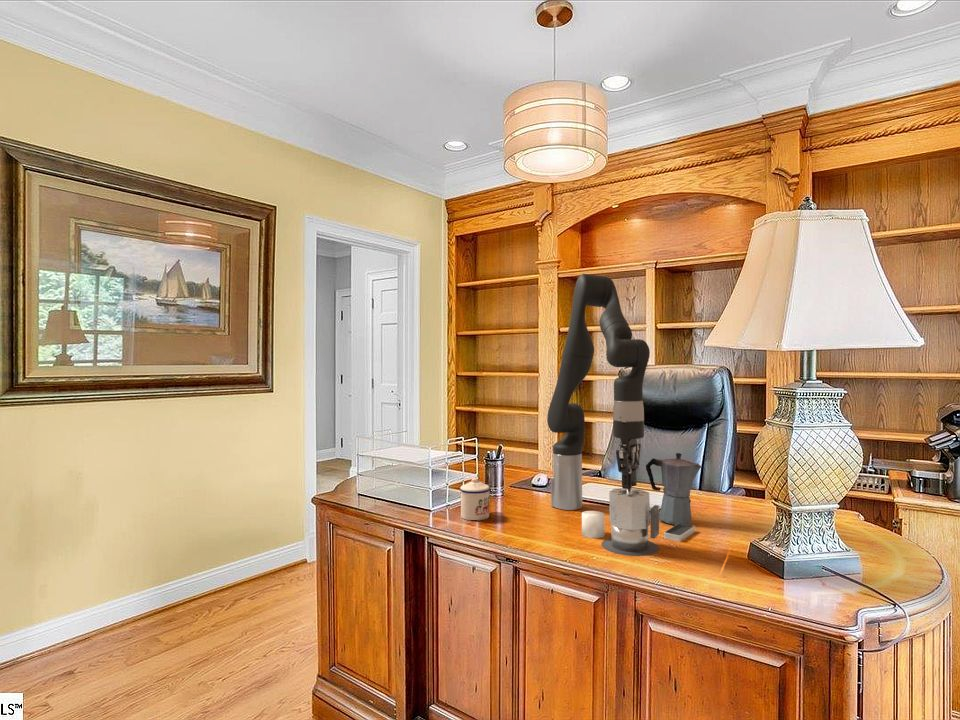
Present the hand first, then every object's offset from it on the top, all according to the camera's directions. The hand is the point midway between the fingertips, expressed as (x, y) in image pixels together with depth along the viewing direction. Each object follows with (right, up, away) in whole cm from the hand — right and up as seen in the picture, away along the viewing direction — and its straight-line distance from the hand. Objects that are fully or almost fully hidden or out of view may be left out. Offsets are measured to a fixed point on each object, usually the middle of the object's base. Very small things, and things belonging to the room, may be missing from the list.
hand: (629, 486), depth 136 cm
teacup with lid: (-38, -16, +29) cm, 51 cm away
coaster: (0, -15, 0) cm, 15 cm away
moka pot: (+19, -15, +21) cm, 32 cm away
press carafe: (+1, -15, -1) cm, 15 cm away
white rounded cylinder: (-7, -15, +9) cm, 19 cm away
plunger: (0, -9, 0) cm, 9 cm away
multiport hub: (+16, -16, +8) cm, 24 cm away
